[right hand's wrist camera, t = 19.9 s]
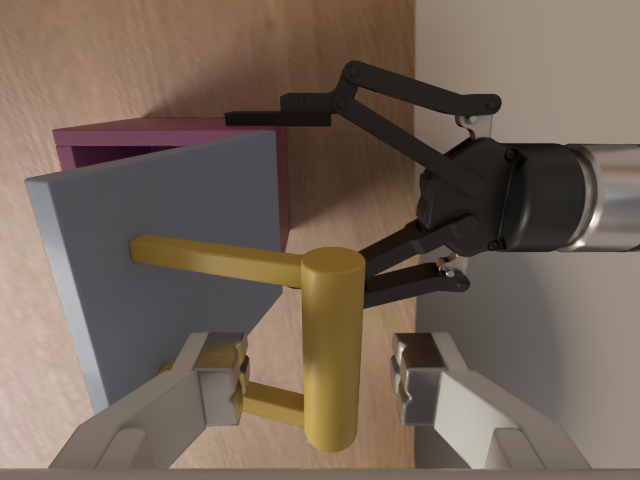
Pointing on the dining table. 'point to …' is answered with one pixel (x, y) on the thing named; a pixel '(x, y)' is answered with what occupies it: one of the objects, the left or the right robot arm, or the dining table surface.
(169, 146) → the chest
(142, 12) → the dining table surface
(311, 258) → the lid
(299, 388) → the dining table surface
